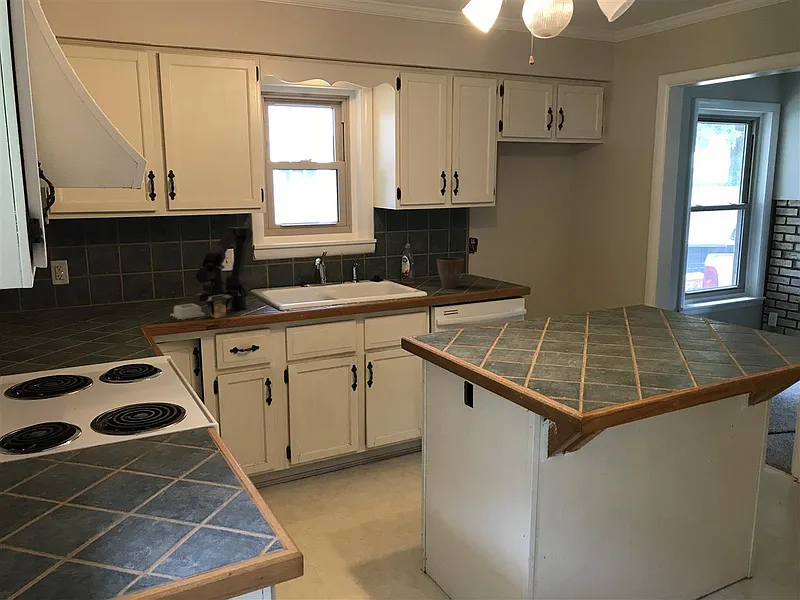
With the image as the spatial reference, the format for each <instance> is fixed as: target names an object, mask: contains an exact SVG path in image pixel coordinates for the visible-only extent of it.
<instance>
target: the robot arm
mask: <svg viewBox="0 0 800 600" xmlns="http://www.w3.org/2000/svg"><path fill="white" fill-rule="evenodd" d="M225 230H226V231H225V233H224V234H223V235H222V237H221V238H220V240H219V241H218V242H217V244H216V245H215V246H214V247H212V248H210V249H209V250H208V251H207V252H206V254H205V255H204V258H203V261H202V264H201V267H199V270H198V271H197V272H196V274H195V278H196V281H197V282H198V283H200V293H199V292H198V293H195V294H194V300H195V301H196V302H197V301H198V302H204V303H206V305H207V307H208V309H209V311H210V315H211V314H212V315H214V305H215V304H214V303H215V302H214V300H213V299H214V298H219V297H220V299H221V301H222V303H221V304H223V305H226V310H227V309H228V306H229V309H230V310H232V311H243V310H248V309H249V308H248V306H247V301H246V300H247V299H246V298H247V297H248V296H249V290H248V288H247V287H246V286H245V285H246V284H245V283H246V281H245V279H244V277H243V274H244V273H243V272H244V267H245V261H246V253H247V247H248V246H249V245H250V243H251V241H252V239H253V230H252V229H251V228H250V227H249V226H248V227H247V226H244V227H243V226H242V227H241V226H238V227H236V226H229V227H227V228H226V229H225ZM233 242H234V243H235V249H234V256H233V263H232V270H231V274H230V275H229V276H226V278H225V281H224V278H223V269H225V265H223V263H224V261H225V259H226V252H227V251H228V249H229V248H230V247H231V245H232V243H233ZM205 283H208V284H205ZM224 289H225V290H224Z"/></svg>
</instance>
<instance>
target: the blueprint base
mask: <svg viewBox="0 0 800 600" xmlns="http://www.w3.org/2000/svg"><path fill="white" fill-rule="evenodd" d="M171 316H173V317H172V318H174V317H175V318H174V319H176V318H177V319H176V320H179V319H181V320H187V319H192V318H193V319H194V318H199V317H200V318H201V317H204V316H205V317H206V313H205V312H202V307H201V306H200V305H197V304H195V303H187V304H180V305H179V304H178V305H175V306H173V313H170V317H171ZM186 318H187V319H186Z"/></svg>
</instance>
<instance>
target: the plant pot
mask: <svg viewBox="0 0 800 600" xmlns="http://www.w3.org/2000/svg"><path fill="white" fill-rule="evenodd" d="M464 259H465V258H462V257H451V256H450V257H449V256H448V257H445V256H444V257H438V258H436V263H437V271H438V275H439V279H440V281H441V286H442V288H444V289H457V287H458V286H459V282H460V279H461V275H462V271H463V268H464V267H463V266H464V262H465V260H464Z"/></svg>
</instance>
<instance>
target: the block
mask: <svg viewBox="0 0 800 600" xmlns="http://www.w3.org/2000/svg"><path fill="white" fill-rule="evenodd" d="M210 317H212V318H215V319H218V318H222V317H223V318H224V317H227V309H226V305H223V304H222V303H217V304H214V315H212V314H211V313H210Z"/></svg>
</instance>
